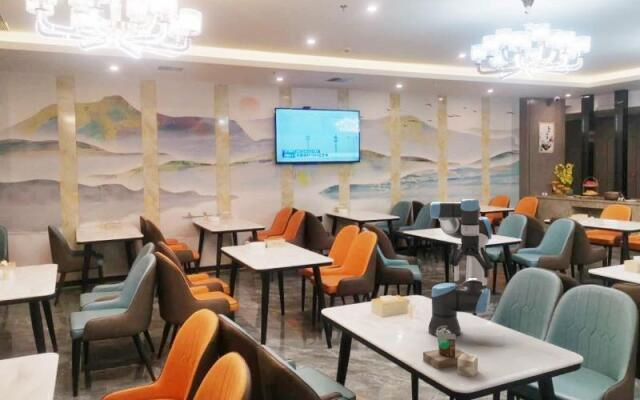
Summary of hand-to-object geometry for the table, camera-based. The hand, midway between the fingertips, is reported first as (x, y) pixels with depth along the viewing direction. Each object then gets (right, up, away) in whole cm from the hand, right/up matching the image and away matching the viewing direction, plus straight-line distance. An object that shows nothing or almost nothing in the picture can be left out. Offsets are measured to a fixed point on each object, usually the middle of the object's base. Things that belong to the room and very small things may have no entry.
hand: (470, 282), depth 229 cm
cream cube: (-9, -31, -26) cm, 41 cm away
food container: (-15, -27, -15) cm, 34 cm away
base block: (-14, -31, -15) cm, 37 cm away
